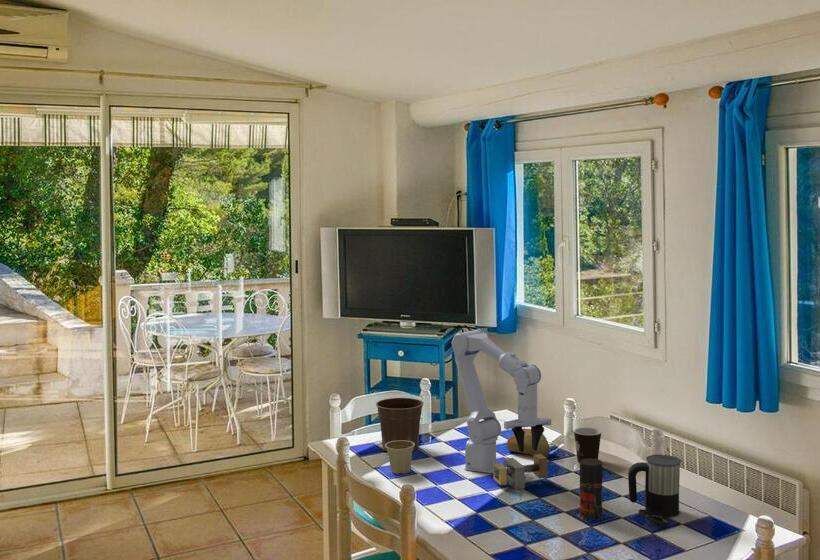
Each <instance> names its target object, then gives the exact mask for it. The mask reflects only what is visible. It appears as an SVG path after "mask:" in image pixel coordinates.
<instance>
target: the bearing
mask: <svg viewBox="0 0 820 560" xmlns="http://www.w3.org/2000/svg"><path fill="white" fill-rule="evenodd" d="M503 465H504V466H505V467H511V474H510V475H507V484H508V485H509V486H510V487H512V488H513V489H514V490H525V489H526V473H525V467H524V466H523V465H524V464H521V462H519V461H517V459H515V458H514V457H508V458H507V457H506V458H503Z"/></svg>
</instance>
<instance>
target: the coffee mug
mask: <svg viewBox="0 0 820 560" xmlns="http://www.w3.org/2000/svg"><path fill="white" fill-rule="evenodd" d="M573 433H574V441H575V450H576V459H577V463H579V464H580V460H582V459H587V458H592V459H598V460H599V455H600V447H601V446H600V445H601V438H602V430H601V429H598V428H595V427H579V428H575V429H574V430H573Z"/></svg>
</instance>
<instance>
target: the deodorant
mask: <svg viewBox="0 0 820 560" xmlns="http://www.w3.org/2000/svg"><path fill="white" fill-rule="evenodd" d="M579 517H580V518H582V519H584V520H589V521H595V520H599V519H600V520H601V519H602V518H603V461H602V460H601V459H599V458H598V459H592V458H587V459H582V460H580V463H579Z"/></svg>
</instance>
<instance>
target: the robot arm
mask: <svg viewBox="0 0 820 560" xmlns="http://www.w3.org/2000/svg"><path fill="white" fill-rule="evenodd" d="M451 347H452V350H453V354H454V361H455V363H456V368H457V371H458V374H459V378H460V381H461V384H462V387H463V391H464V395H465V398H466V402H467V405H468V408H469V411H470V414H469V417H468V418H467V419H466V424H467V435H468V437H469V439H468V440H467V441H466V442H465V443H466V444H465V448H464V449H465V450H464V451H465V453H464V456H465V458H464V459H465V461H464V462H465V464H464V465H465V467H464V470H466V471H472V472H479V473H480V472H481V473H489V474H493V463H496V462H497V441H498V437H499V436H500V435H501V432H502V425H501V423H500V421H499V420H498V418H497V415H496V414H495V412H493V411H492V410H490V409H489V408H488V406H487V402H486V399H485V396H484V395H485V394H484V392H483V390H482V386H481V383H480V380H479V376H478V372H477V370H476V367H475V363H474V361H475V359H476V357H477V356H478V355H479V353H480V352H482V353H484V354H485V355H487V356H489V357H490V358H492V359H494V360H495V361H496V362H498V366H499V368H500V370H502V371H504V372H505V373H506V374H508V375H509V376H510V377H511V378H512V379H513V381H514V384H515V386H516V387H515V388H516V391H517V419H513V420H512V419H511V420H508V421H503V429H505V430H506V431H507V430H510V429H511V431H512V432H513V434H514V435H515V437H516V440H517V443H518V447H519V451H521V452H524V435H525V431H523V429H524V428H530V429H531V433H532V449H533V450H535V451H536V450H537V447H538V443H539V440H540V438H541V435H542V434H543V435H544V432H545V427H544V426H552V418H550V417H538V384H539V383H540V381H541V380H542V379H541V378H542V372H541V370H540V369H539V367H538V366H537V365H536V364H529V363H527V362H526V361H524V360H522V359H521V358H519V357H518V356H517V354H516V353H515V352H509V351H508V352H505V351H504V350H502V348H501V347H499V346H498V345H497V344H496V343H495V342H493V341H492V340H491V339H490V338H489V336H488V333H486V332H484V331H483V330H481V329H479V328H478V329H474V330H470V331H469V330H468V331H464V332H456V333H455V334H454V335H453V338H452V340H451ZM480 420H481V421H480Z"/></svg>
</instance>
